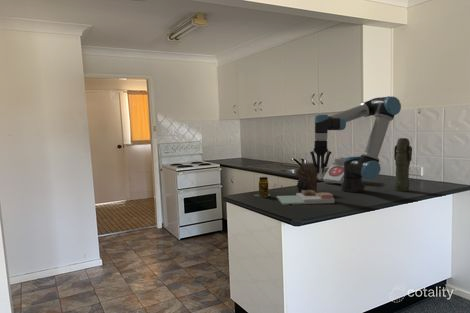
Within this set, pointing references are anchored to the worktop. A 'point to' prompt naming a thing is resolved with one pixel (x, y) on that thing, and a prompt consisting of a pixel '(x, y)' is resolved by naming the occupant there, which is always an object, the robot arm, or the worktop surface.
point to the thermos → (402, 164)
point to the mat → (289, 200)
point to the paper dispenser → (335, 171)
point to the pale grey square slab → (314, 199)
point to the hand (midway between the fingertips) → (320, 178)
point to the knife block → (307, 177)
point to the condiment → (263, 187)
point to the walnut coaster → (308, 192)
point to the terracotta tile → (325, 195)
